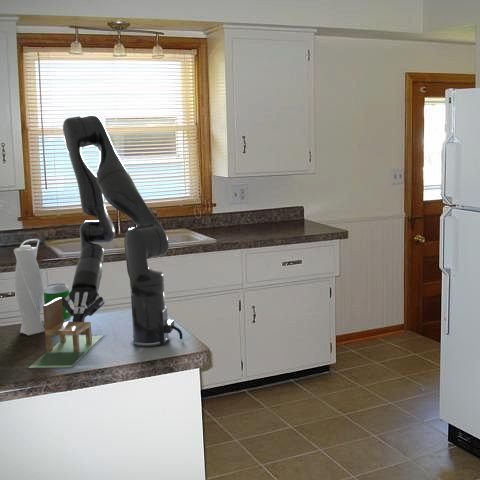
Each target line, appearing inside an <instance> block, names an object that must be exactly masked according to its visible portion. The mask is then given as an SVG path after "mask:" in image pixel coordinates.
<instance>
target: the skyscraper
mask: <svg viewBox="0 0 480 480" xmlns="http://www.w3.org/2000/svg"><path fill="white" fill-rule="evenodd" d="M31 241H32V242H33V241H36V242H37V243H36V246H32V245H31V244H26V243H27V242H31ZM40 241H41V240H40V239H39V238H30V239H26V240H24V241H23V242H22V243H21V244H20V245H19V247H16V248H14V249H13V253H14V256H15V259H16V264H15V271H14V287H15V288H14V289H15V294H16V295H15V296H16V302H17V305H18V309H19V313H20V317H21V320H22V321H21V325H20V330H19V333H20V334H24V335H27V336H32V335H35V334H36V335H37V334H40V333H45V325H44V324H43V321H42V319H41V315H42V309H43V301H44V292H43V290H44V286H43V285H44V284H43V277H42V273H41V269H40V266H39V263H38V260H37V255H38V251H39V250H38V249H39V245H40Z"/></svg>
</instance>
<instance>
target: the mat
mask: <svg viewBox="0 0 480 480" xmlns="http://www.w3.org/2000/svg"><path fill="white" fill-rule="evenodd" d="M102 337H104V335H101V334H100V335H92V343H91V344H86V335H79V348H80V351H79V352H74V349H73V336H72V335H66V342H65V343H60V340H59V341H58V342H57V343H56V344H54V345H52V347H53V350H52V351H51V352H47V351H45V352H44V354H42V356H40V357H39V358H38V359H36V360H35V361H34V362H33V363H32V364H30V365H29V366H28V369H71V368H73V366H75V364H76V363H77V362H78V361H79V360H80V359H81V358H83V356H84V355H85V354H86V353H87V352H89V350H90V349H91V348H92V347H93V346H94V345H95V344H96V343H97V342H98V341H99V340H100V339H101V338H102Z"/></svg>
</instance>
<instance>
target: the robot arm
mask: <svg viewBox="0 0 480 480" xmlns="http://www.w3.org/2000/svg"><path fill="white" fill-rule="evenodd" d="M62 132H63V138H64V142H65V143H64V144H65V146H66V150H67V153H68V156H69V159H70V164H71V167H72V169H73V172H74V175H75V179H76V182H77V187H78V192H79V193H78V194H79V199H80V206H81V210H82V213H83V214H84V215H86V216H90V217H91V216H92V217H94V218H96V219H97V220H85V221H84V222H82V223H81V225H80V226H79V238H80V254H79V258H78V262H77V265H76V268H75V270H74V271H75V272H74V277H73V281H72V285H71V290H70V291H69V296H67V297H66V298H64V297H62V303H63V305H64V306H65V308H66V309H67V311H68V312H69V314H70V315H71V317H72V321H71V322H85V319H86V318H87V317H88V316H89V317H91V316H93V315H94V314H95V313H96V312H98V310H99V309H100V308H101V307H103V305H105V303H106V302H105V300H104V298H103V297H102V296H100V295H99V289H100V284H101V279H102V276H103V266H104V260H105V254H106V252H105V248H104V247H103V246H102V245H100V244H107V243H111V242H112V241H113V240H114V239H115V237H116V228H115V225H114V223H113V220H112V218H111V217H110V214H109V211H108V209H107V206H106V202H107V203H108V204H109V205H110V206H112V207H113V208H114V209H116V210H117V211H118V212H120V213H122V214H123V215H125V216H126V217H127V218H129V219H130V220H131V221H132V222H133V223H134V224H135V225H136V227H135V226H134V227H131V228H128V230H127V231H126V232H125V235H124V239H123V240H124V241H123V242H124V243H123V244H124V245H123V246H124V254H125V262H126V270H127V275H128V278H129V284H130V285H129V287H130V289H129V290H130V304H131V320H132V321H131V322H132V338H133V339H132V343H133V345H134V346H138V347H145V348H147V347H149V348H150V347H156V346H163V345H166V343H167V342H168V340H169V338H170V337H169V334H171V333H172V332H173V330H175V331H177V333H178V334H179V335H178V336H179V339H180V340H182V339H183V336H184V335H183V332H182V330H181V329H180V328H179V327H177V326H176V325H175V320H174V319H168V317H169V316H168V306H166V299H165V297H166V295H165V278H164V273H163V272H162V271H161V270H160V269H153V268H150V267H149V263H148V260H150V259H155V258H161V257H164V256H165V255H166V254H167V253H168V252H169V247H170V245H169V244H170V243H169V238H168V235H167V233H166V230H165V229H164V227H163V226H162V224H161V223H160V222H159V220H158V219H157V218H156V216H155V215H154V213H153V212H152V210H151V209H150V208H149V207H148V205H147V203H146V201H145V200H144V198H143V197H142V195H141V194H140V192H139V190H138V188H137V185H135V182H134V180H133V179H132V176H131V175H130V174H129V172H128V170H127V169H126V167H125V166H124V164H123V162H122V160H121V158H120V156H119V155H118V153H117V151H116V149H115V146H114V145H113V143H112V140H111V138H110V136H109V134H108V131H107V129H106V127H105V125H104V123H103V121H102V120H101V119H100V117H98V115H96V114H86V115H85V114H84V115H78V116H71V117H68V118H65V119H64V121H63V124H62ZM89 147H95V148H97V151H98V152H99V162H98V166H97V170H96V174H95V172H93V170H92V169H91V168H90V167H89V166H88V164H87V162H86V161H85V159H84V157H83V154H82V149H83V148H89ZM105 200H106V201H105ZM71 302H72V304H73V307H74V308H72V307H71ZM69 304H70V306H69Z"/></svg>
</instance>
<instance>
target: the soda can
mask: <svg viewBox="0 0 480 480" xmlns="http://www.w3.org/2000/svg"><path fill="white" fill-rule="evenodd" d="M69 293H70V287H69V286H68V285H67V284H66V283H62V282H61V283H60V282H59V283H58V282H56V283H51V284H46V285H45V287H43V303H44V304H43V305H45V304H47V303H49V302H51V301H53V300H55V299H57V298H62V297H64V298H66V297H67V296H69ZM62 304H63V303H62ZM69 306H70V307H71V303H70V304H69ZM63 317H64V322H70V320H72V316H71V315H70V314H69V312H68V311H67V309H66V308H65V306H64V305H63Z"/></svg>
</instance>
